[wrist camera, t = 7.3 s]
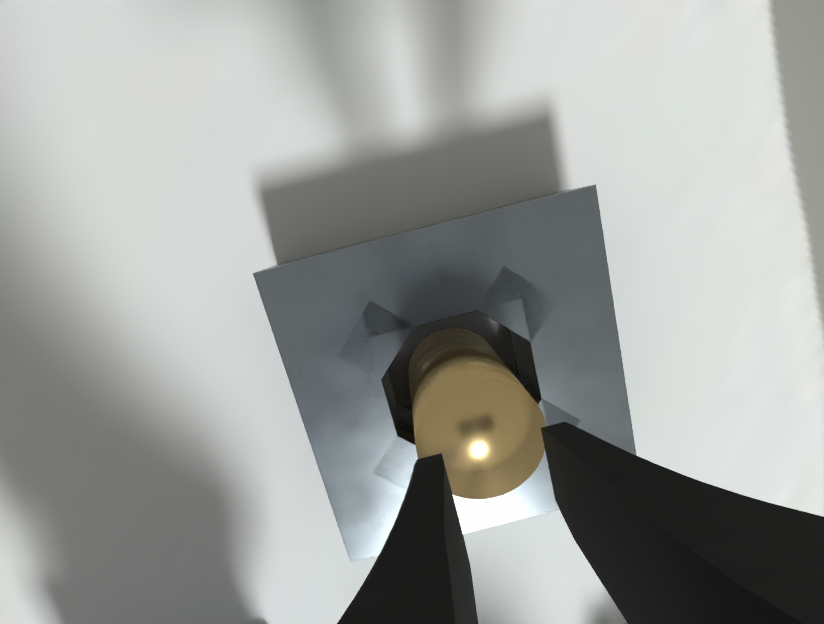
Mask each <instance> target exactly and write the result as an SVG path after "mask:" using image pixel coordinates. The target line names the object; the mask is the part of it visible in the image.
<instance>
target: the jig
mask: <svg viewBox="0 0 824 624" xmlns="http://www.w3.org/2000/svg"><path fill="white" fill-rule="evenodd" d="M253 275H254V278H255V281H256V284H257V287H258V290H259V293H260V296H261V299H262V302H263V305H264V308H265V311H266V313H267V316H268V319H269V322H270V325H271V328H272V331H273V334H274V337H275V340H276V343H277V346H278V349H279V352H280V355H281V358H282V361H283V364H284V367H285V370H286V373H287V376H288V379H289V382H290V385H291V388H292V391H293V393H294V396H295V399H296V402H297V405H298V408H299V411H300V414H301V417H302V420H303V423H304V426H305V429H306V432H307V435H308V438H309V441H310V444H311V447H312V450H313V453H314V456H315V459H316V462H317V465H318V468H319V471H320V474H321V476H322V479H323V482H324V485H325V488H326V491H327V494H328V497H329V500H330V503H331V506H332V509H333V512H334V515H335V518H336V521H337V524H338V527H339V530H340V533H341V536H342V539H343V542H344V545H345V548H346V551H347V554H348V556H349V559H350V562H353V561H357V560H361V559H365V558H369V557H373V556H377V555H379V554H380V552H381V550H382V548H383V546H384V544H385V542H386V540H387V538H388V535H389V533H390V531H391V529H392V527H393V525H394V522H395V520H396V518H397V515H398V513H399V510H400V507H401V505H402V502H403V500H404V497H405V494H406V491H407V488H408V485H409V482H410V479H411V476H412V472H413V468H414V464H415V462H416V461H417V459H418V457H417V452H416V445H415V435H414V425H413V415H412V411H411V410H410V409H408V408H406V407H404V406H402V405H400V404H398V403H396V399H395V395H394V392H393V388H392V385H391V381H390V378H389V374H388V371H387V369H388V368H389V366H390V364H391V363H392V361H393V359H394V358H395V356H396V355H397V353H398V351H399V350H400V348H401V346H402V345H403V343H404V341H405V340H406V338H407V336H408V335H409V333H410V332H411V330H412V328H413V327H414V326H417V325H421V324H425V323H428V322H432V321H436V320H440V319H444V318H448V317H452V316H456V315H460V314H463V313H467V312H471V311H475V310H478V311H479V312H481V313H483V314H484V315H486V316H488V317H490V318H491V319H493V320H495V321H496V322H498V323H500V324H501V325H503V326H505V327H506V328H508V329H509V331H510V335H511V340H512V345H513V350H514V355H515V359H516V364H517V369H518V372H517V374H516V375H515V377H516V378H517V379H518V380H519V382H520V383H521V384H522V385H523V387H524V388H525V389H526V390H527V392H528V393H529V394H530V395H531V397H532V398H533V399H534V400H535V401H536V403H537V404H538V406H539V407H540V409H541V411H542V413H543V416H544V418H545V422H546V426H550V425H554V424H558V423H562V422H567V423H569V424H572V425H574V426H576V427H578V428H580V429H582V430H584V431H586V432H588V433H590V434H592V435H594V436H596V437H598V438H600V439H602V440H604V441H606V442H608V443H610V444H612V445H615V446H617V447H619V448H621V449H623V450H625V451H627V452H629V453H632V454H634V455H636V450H635V444H634V437H633V430H632V424H631V417H630V410H629V404H628V397H627V390H626V384H625V377H624V370H623V364H622V357H621V350H620V344H619V337H618V330H617V324H616V317H615V310H614V304H613V297H612V290H611V284H610V277H609V270H608V264H607V257H606V250H605V244H604V237H603V230H602V224H601V217H600V210H599V204H598V197H597V190H596V185H592V186H587V187H582V188H577V189H572V190H567V191H562V192H558V193H554V194H550V195H546V196H542V197H538V198H534V199H531V200H527V201H523V202H519V203H515V204H511V205H507V206H503V207H500V208H496V209H492V210H488V211H484V212H480V213H476V214H473V215H469V216H465V217H461V218H457V219H453V220H449V221H446V222H442V223H438V224H434V225H430V226H426V227H422V228H418V229H415V230H411V231H407V232H403V233H399V234H395V235H391V236H388V237H384V238H380V239H376V240H372V241H368V242H364V243H361V244H357V245H353V246H349V247H345V248H341V249H337V250H333V251H330V252H326V253H322V254H318V255H314V256H310V257H306V258H303V259H299V260H295V261H291V262H287V263H283V264H279V265H276V266H273V267H270V268H267V269H264V270H261V271H258V272H256V273H253ZM453 498H454V502H455V505H456V509H457V513H458V517H459V521H460V524H461V529H462V533H463V534H464V533H468V532H472V531H476V530H480V529H484V528H488V527H492V526H496V525H500V524H504V523H508V522H512V521H516V520H520V519H523V518H527V517H531V516H535V515H539V514H543V513H547V512H551V511H555V510H559V507H558V505H557V503H556V501H555V496H554V491H553V487H552V482H551V477H550V472H549V467H548V462H547V457H546V452H544V455H543V458H542V460H541V462H540V464H539V465H538V467H537V469H536V470H535V471H534V473H533V474H532V475H531V476H530V477H529V478H528V479H527V480H526V481H525V482H524V483H523V484H521V485H520V486H519V487H517V488H515V489H514V490H512V491H510V492H508V493H506V494H503V495H501V496H497V497H494V498H488V499H467V498H461V497H458V496H455V495H453Z"/></svg>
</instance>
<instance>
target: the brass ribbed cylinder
mask: <svg viewBox="0 0 824 624" xmlns="http://www.w3.org/2000/svg"><path fill="white" fill-rule="evenodd" d="M408 375H409V386H410V396H411V405H412V415H413V425H414V435H415V445H416V452H417V457H418V459H420V458H424V457H428V456H432V455H436V454H440V453H442V456H443V460H444V464H445V467H446V471H447V475H448V479H449V483H450V486H451V490H452V494H453V495H455V496H458V497H461V498H467V499H488V498H494V497H497V496H501V495H503V494H506V493H508V492H510V491H512V490H514V489H515V488H517V487H519V486H520V485H521V484H523V483H524V482H525V481H526V480H527V479H528V478H529V477H530V476H531V475H532V474H533V473H534V471H535V470H536V469H537V467H538V465H539V464H540V462H541V460H542V458H543V455H544V452H545V447H544V442H543V437H542V432H541V428H542V427H546V422H545V418H544V416H543V413H542V411H541V409H540V407H539V406H538V404H537V403H536V401H535V400H534V399H533V398H532V397H531V395H530V394H529V393H528V392H527V390H526V389H525V388H524V387H523V385H522V384H521V383H520V382H519V380H518V379H517V378H516V377H515V375H514V374H513V373H512V372H511V371H510V369H509V368H508V367H507V366H506V364H505V363H504V362H503V361H502V359H501V358H500V357H499V356H498V354H497V353H496V352H495V351H494V349H493V348H492V347H491V346H490V345H489V343H488V342H487V341H486V340H485V339H484V338H483V337H481V336H480V335H478V334H477V333H475V332H473V331H470V330H467V329H462V328H448V329H443V330H440V331H437V332H435V333H433V334H431V335H429V336H428V337H426V338H425V339H424V340H423V341H422V342H421V343H420V344H419V345H418V346H417V348H416V349H415V351H414V352H413V354H412V357H411V359H410V363H409V370H408Z"/></svg>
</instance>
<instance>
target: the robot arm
mask: <svg viewBox="0 0 824 624" xmlns="http://www.w3.org/2000/svg"><path fill="white" fill-rule="evenodd" d="M541 432H542V437H543V442H544V447H545V452H546V457H547V462H548V467H549V472H550V477H551V482H552V487H553V491H554V496H555V501H556V503H557V505H558V507H559V509H560V511H561V513H562V515H563V517H564V519H565V521H566V523H567V525H568V527H569V529H570V531H571V533H572V535H573V537H574V539H575V541H576V543H577V544H578V546H579V547H580V549H581V551H582V552H583V554H584V555H585V557H586V559H587V560H588V562H589V563H590V565H591V566H592V568H593V570H594V571H595V573H596V574H597V576H598V577H599V579H600V581H601V582H602V584H603V585H604V587H605V588H606V590H607V591H608V593H609V595H610V596H611V598H612V599H613V601H614V602H615V604H616V605H617V607H618V609H619V610H620V612H621V613H622V615H623V616H624V618H625V620H626V621H627V623H628V624H824V517H822V516H818V515H814V514H810V513H806V512H802V511H798V510H795V509H791V508H787V507H783V506H779V505H775V504H771V503H767V502H764V501H761V500H757V499H754V498H750V497H747V496H743V495H740V494H737V493H734V492H731V491H728V490H725V489H722V488H719V487H716V486H713V485H709V484H706V483H703V482H701V481H698V480H695V479H692V478H690V477H687V476H684V475H682V474H679V473H677V472H674V471H672V470H669V469H667V468H664V467H662V466H659V465H657V464H654V463H652V462H650V461H647V460H645V459H643V458H641V457H638V456H636V455H634V454H632V453H629V452H627V451H625V450H623V449H621V448H619V447H617V446H615V445H612V444H610V443H608V442H606V441H604V440H602V439H600V438H598V437H596V436H594V435H592V434H590V433H588V432H586V431H584V430H582V429H580V428H578V427H576V426H574V425H572V424H569V423H567V422H562V423H558V424H554V425H550V426H546V427H542V428H541ZM337 624H478V619H477V612H476V604H475V597H474V590H473V582H472V575H471V568H470V563H469V559H468V554H467V550H466V546H465V541H464V537H463V533H462V529H461V524H460V521H459V517H458V513H457V509H456V505H455V502H454V498H453V494H452V490H451V486H450V483H449V479H448V475H447V471H446V467H445V464H444V460H443V456H442V453H440V454H436V455H432V456H428V457H424V458H420V459H417V461H416V462H415V464H414V468H413V472H412V476H411V479H410V482H409V485H408V488H407V491H406V494H405V497H404V500H403V502H402V505H401V507H400V510H399V513H398V515H397V518H396V520H395V522H394V525H393V527H392V529H391V531H390V533H389V535H388V538H387V540H386V542H385V544H384V546H383V548H382V550H381V552H380V554H379V556H378V558H377V560H376V562H375V564H374V566H373V567H372V569H371V571H370V573H369V574H368V576H367V578H366V580H365V581H364V583H363V585H362V586H361V588H360V590H359V591H358V593H357V595H356V596H355V598H354V599H353V601H352V602H351V604H350V605H349V607H348V608H347V610H346V611H345V613H344V614H343V616H342V617H341V619H340V620H339V622H338V623H337Z"/></svg>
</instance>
